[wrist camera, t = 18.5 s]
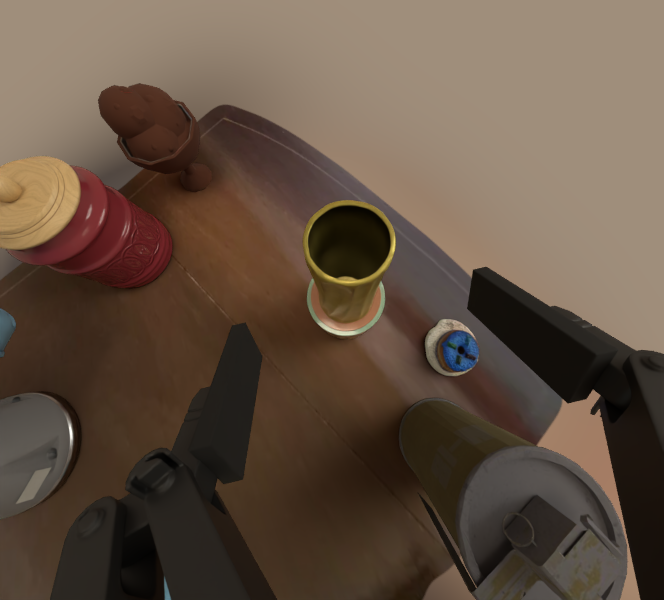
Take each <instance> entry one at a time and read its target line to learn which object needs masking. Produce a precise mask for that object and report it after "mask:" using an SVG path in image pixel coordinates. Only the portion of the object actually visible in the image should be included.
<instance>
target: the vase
mask: <svg viewBox="0 0 664 600" xmlns="http://www.w3.org/2000/svg"><path fill="white" fill-rule="evenodd" d="M395 247H396V239H395V233H394V230H393V227H392V225H391V223H390V222H389V220H388V219H387V218H386V216H385V215H384V214H383V213H382V212H381V211H380V210H379V209H377V208H376V207H374V206H372V205H370V204H367V203H364V202H359V201H352V200H344V201H338V202H334V203H330V204H328V205H326V206H325V207H323V208H322V209H321V210H319V211H318V212H317V213H315V214H314V215H313V216H312V217H311V219H310V220H309V222H308V224H307V226H306V228H305V231H304V235H303V248H304V254H305V260H306V263H307V266H308V268H309V270H310V272H311V275H312V277H313V279H314V282H315V284H316V287H317V289H318V292H319V303H320V306H321V308H322V310H323V311H324V313H325V314H326V315H327V316H328V317H329V318H331V319H332V320H335V321H337V322H341V323H351V322H355V321H358V320H360V319H361V318H363V317H364V316H365V315H366V314H367V313H368V312H369V310H370V308H371V306H372V303H373V298H374V296H375V294H376V291H377V289H378V286H379V284H380V282H381V280H382V278H383V275H384V273H385V271H386V270H387V269H388V267H389V265H390V263H391V261H392V258H393V255H394V252H395Z"/></svg>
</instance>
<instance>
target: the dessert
mask: <svg viewBox="0 0 664 600" xmlns="http://www.w3.org/2000/svg"><path fill="white" fill-rule="evenodd" d="M425 347H426V356H427V359H428V361H429V363H430V364H431V366H432V367H433V368H434V369H435V370H436V371H438V372H439V373H441V374H443V375H446V376H458V375H461V374H464V373H466V372H468V371H469V370H471V369H472V368H473V367H474V366H475V365H476V363H477V362H478V356H479V346H478V343H477V341H476V338H475V337H474V335H473V333H471V331H470V330H469V329H468V328H467V327H466V326H465V325H463V324H462V323H460V322H458V321H455V320H450V319H444V320H440V321H439V322H438V324H437V325H436V327H434V328H432V329H431V330H430V331H429V332H428V334H427V336H426V339H425Z"/></svg>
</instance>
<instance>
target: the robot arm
mask: <svg viewBox="0 0 664 600" xmlns="http://www.w3.org/2000/svg"><path fill="white" fill-rule="evenodd" d="M467 309H468V310H469V311H470V312H471V313H472V314H473V315H474V316H475V317H476V318H478V319H479V320H480V321H481V322H482V323H483V324H484V325H485V326H486V327H487V328H488V329H489V330H490V331H491V332H492V333H493V334H495V335H496V336H497V337H498V338H499V339H500V340H501V341H502V342H503V343H504V344H505V345H506V346H507V347H508V348H509V349H510V350H511V351H513V352H514V353H515V354H516V355H517V356H518V357H519V358H520V359H521V360H522V361H523V362H524V363H525V364H526V365H527V366H528V367H530V368H531V369H532V370H533V371H534V372H535V373H536V374H537V375H538V376H539V377H540V378H541V379H542V380H543V381H544V382H545V383H547V384H548V385H549V386H550V387H551V388H552V389H553V390H554V391H555V392H556V393H557V394H558V395H559V396H560V397H561V398H562V399H564V400H565V401H566V402H567V403H572V402H575V401H580V400H584V399H587V397H588V396H589V394H590V393H591V391H592V390H593V389H594V390H595V391H596V392H597V393H599V394H600V395H601V396H600V398H599V399H598V400H597V402H596V403H595V405H594V406H593V407H592V409H591V414H592V415H595V414H596V412H597V411H598V410H599V409H600V412H601V416H600V417H602V421H603V426H604V431H605V435H606V440H607V445H608V449H609V454H610V459H611V464H612V468H613V473H614V478H615V482H616V487H617V492H618V496H619V501H620V506H621V510H622V515H623V520H624V525H625V529H626V534H627V538H628V543H629V548H630V552H631V557H632V562H633V567H634V571H635V576H636V580H637V585H638V590H639V595H640V599H641V600H664V354H662V353H658V352H654V351H647V350H639V351H636V350H634V349H632V348H630V347H629V346H627V345H625V344H624V343H622V342H620V341H619V340H617V339H615V338H614V337H612V336H610V335H609V334H607V333H605V332H604V331H602V330H600V329H599V328H597V327H595V326H592V324H590V323H589V322H587V321H585V320H582V318H580V317H579V316H577V315H575V314H574V313H572V312H570V311H568V310H565V309H562V308H560V307H557V306H551V307H550V306H548V305H547V304H545V303H543V302H542V301H540V300H539V299H537V298H535V297H534V296H532V295H531V294H529V293H527V292H526V291H524V290H523V289H521V288H519V287H518V286H516V285H514V284H513V283H512V282H510V281H508V280H507V279H505V278H503V277H502V276H500V275H499V274H497V273H496V272H494V271H492V270H491V269H489V268H488V267H483V268H479V269H475V270H473V274H472V281H471V287H470V294H469V301H468V307H467ZM15 328H16V322H15V320H14V318H13V317H12V316H11V315H10V314H9V313H8V312H6V311H4V310H3V309H1V308H0V357H3V356H4V355H5V352H4V349H5V347H6V345H7V343H8V341H9V340H10V338H11V336H12V334H13V332H14V331H15ZM261 362H262V355H261V353H260V351H259V349H258V347H257V345H256V343H255V341H254V339H253V337H252V335H251V333H250V331H249V329H248V327H247V325H246V323H241V324H237V325H233V326H232V327H231V330H230V333H229V336H228V339H227V341H226V344H225V347H224V350H223V353H222V355H221V358H220V361H219V364H218V367H217V370H216V372H215V375H214V378H213V381H212V384H211V386H210V387H206V388H202V389H200V390H199V392H198V393H197V394H196V396H195V397H194V398H193V399H192V402H191V404H190V407H189V409H188V413H187V414H186V416H185V419H184V423H183V424H182V426H181V429H180V431H179V433H178V436H177V438H176V441H175V443H174V446H173V448H172V451H169V450H168V449H167V448H159V449H156V450H153V451H151V452H150V453H148V454H147V455H145V456H144V457H143V458H142V459H141V460H140V461H139V462H138V463H136V465H135V466H134V468H133V469H132V470H131V472H130V473H129V476H128V478H127V480H126V489H125V490H126V491H128V492H130V493H131V494H129V495H127V496H125V497H124V498H122V499H120V500H117V499H115V498H113V497H111V496H109V497H103V498H101V499H99V500H97V501H95V502H94V503H92V504H91V505H90V506H88V507H87V508H86V509H85V510H84V511H83V512H82V513H81V514H80V515H79V516H78V517H77V519H76V520H75V522H74V523H73V525H72V526H71V527H70V529H69V531H68V534H67V536H66V538H65V541H64V545H63V549H62V553H61V557H60V561H59V565H58V569H57V573H56V577H55V581H54V585H53V589H52V593H51V597H50V600H165V588H164V577H165V580H166V583H167V587H168V590H169V594H170V597H171V600H277V598H276V597H275V595H274V593H273V591H272V589H271V588H270V586H269V584H268V582H267V580H266V579H265V577H264V575H263V573H262V571H261V570H260V568H259V566H258V564H257V562H256V560H255V559H254V557H253V555H252V553H251V551H250V550H249V548H248V546H247V544H246V542H245V541H244V539H243V537H242V535H241V533H240V532H239V530H238V528H237V526H236V524H235V523H234V521H233V519H232V517H231V515H230V514H229V512H228V510H227V508H226V506H225V505H224V503H223V501H222V499H221V497H220V496H219V494H218V492H217V491H216V490H215V486H216V482H217V478H218V479H219V480H220V481H221V482H222V483H223V484H226V483H231V482H235V481H239V480H243V476H244V470H245V463H246V457H247V451H248V444H249V438H250V432H251V425H252V419H253V413H254V406H255V400H256V394H257V387H258V381H259V375H260V368H261ZM80 443H81V429H80V423H79V420H78V417H77V414H76V412H75V410H74V409H73V407H72V406H71V405H70V404H69V402H67V401H66V400H65V399H64V398H62V397H61V396H59V395H57V394H54V393H51V392H44V391H39V392H30V393H23V394H18V395H14V396H10V397H7V398H4V399H1V400H0V519H4V518H8V517H11V516H14V515H16V514H19V513H22V512H24V511H26V510H28V509H30V508H32V507H34V506H36V505H38V504H40V503H42V502H44V501H45V500H47V499H48V498H49V497H51V496H52V495H53V494H54V493H55V492H56V491H58V489H59V488H60V487H61V486H62V485H63V484H64V482H65V481H66V480H67V478H68V477H69V475H70V473H71V472H72V470H73V468H74V465H75V463H76V460H77V458H78V454H79V450H80Z"/></svg>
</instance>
